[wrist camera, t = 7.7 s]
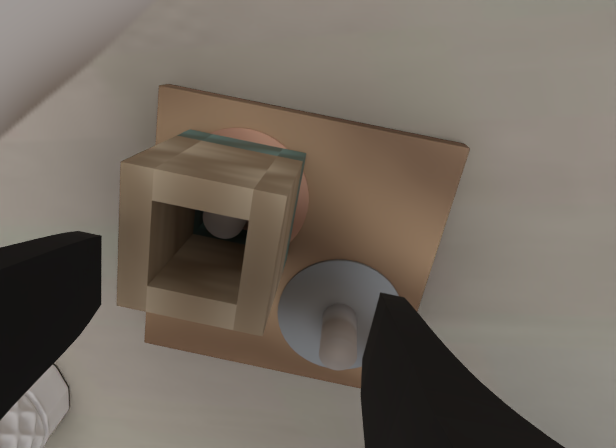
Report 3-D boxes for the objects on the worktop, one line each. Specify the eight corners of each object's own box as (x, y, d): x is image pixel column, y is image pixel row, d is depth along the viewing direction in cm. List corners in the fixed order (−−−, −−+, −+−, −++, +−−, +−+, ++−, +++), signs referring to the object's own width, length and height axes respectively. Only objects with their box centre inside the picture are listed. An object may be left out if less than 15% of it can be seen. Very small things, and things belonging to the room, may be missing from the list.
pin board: (388, 381, 24) (395, 442, 20) (152, 331, 24) (116, 382, 20) (464, 143, 19) (491, 165, 15) (168, 83, 19) (124, 91, 16)
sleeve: (306, 153, 19) (287, 196, 13) (286, 258, 20) (262, 336, 15) (189, 129, 19) (120, 161, 13) (180, 236, 20) (116, 305, 15)
